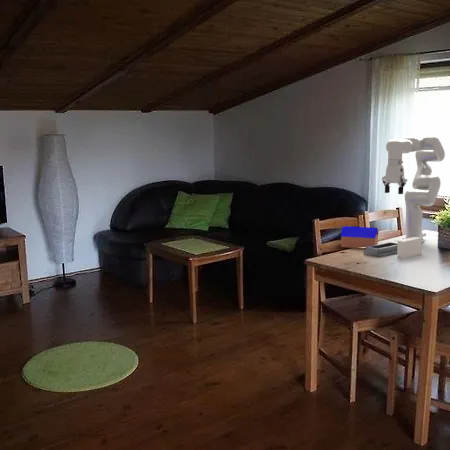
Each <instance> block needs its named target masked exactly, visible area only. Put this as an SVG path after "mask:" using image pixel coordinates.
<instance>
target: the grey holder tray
mask: <svg viewBox="0 0 450 450" xmlns="http://www.w3.org/2000/svg"><path fill="white" fill-rule="evenodd" d="M397 246H398V242H392V241H389V242H384V243H378V245H373V246H368V247H366V248H365V250H363V254H364V253H367V254H366V255H368V254H371V255H370V256H373V255H375V256H374V257H378V256H379V257H378V258H382V257H383V258H384V257H388V256H391V254H392V255H397V254H396V253H397ZM387 255H388V256H387Z"/></svg>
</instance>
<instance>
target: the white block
mask: <svg viewBox="0 0 450 450" xmlns="http://www.w3.org/2000/svg"><path fill="white" fill-rule="evenodd" d="M397 243H398V246H397V254H396V255H397V258H402V259H406V258H409V257H414V256H418V255H422V245H423V244H422V243H423V242H422V238H419V237H413V238H408V239H403V238H402V239H398V240H397Z"/></svg>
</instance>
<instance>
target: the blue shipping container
mask: <svg viewBox="0 0 450 450" xmlns="http://www.w3.org/2000/svg"><path fill="white" fill-rule="evenodd" d="M340 239H341V240H340V248H350V249H357V248H356V247H368V246H373V245H377V244H379V230H378V227H366V226H363V227H362V226H346V225H345V226H342V228H341V233H340Z"/></svg>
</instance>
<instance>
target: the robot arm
mask: <svg viewBox="0 0 450 450" xmlns="http://www.w3.org/2000/svg"><path fill="white" fill-rule="evenodd" d="M385 145H386V146H385V148H386V152H388V153H387V165H386V170H385V175H384V176H382V177H381V180H382V184H383V185H384V194H388V193H390V192H391V191H390V187H391V186H390V184H397V185H398V190H397V192H398V193H397V194H398V195H403V194H404V204H405V235H404V237H403V238H402V240H403V239H408V238H413V237H419V238H422V243H425V238H424V237H426V236H427V233H423V214H424V213H423V209H422V208H421V206H422V207H432V206H433V205H434V204H435V202H436V199H437V196H438V194H439V191H440V188H441V178H440V177H439V176H438V175H436V174H435V175H433V174H432V172H433V170H432V168H431V165H429V163H428V162H430V163H432V162H436V163H437V162H442V161H443V160H444V159H445V155H446V152H445V149H444V146H443V145H442V143H441V141H440V139H439V138H438V137H437V136H436V135H417V136H411V137H410V136H409V137H404V138H394V139H389V140H388V141H387V143H386V144H385ZM412 152H414V153H415V161H416V166H417V170H416V173H415V176H414V177H413V181H412V189H408V190H406V192H404V187H405V185H406V184H407V182H408V178H406V177H405V169H404V165H403V163H404V161H403V154H409V153H412Z"/></svg>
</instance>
